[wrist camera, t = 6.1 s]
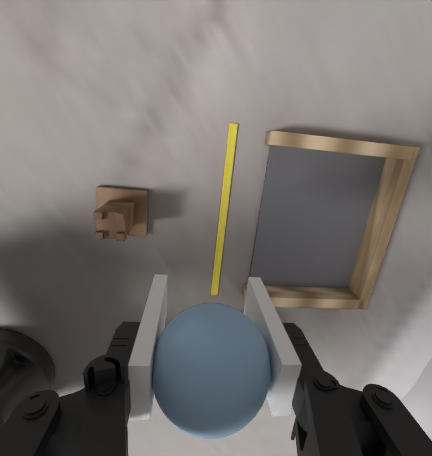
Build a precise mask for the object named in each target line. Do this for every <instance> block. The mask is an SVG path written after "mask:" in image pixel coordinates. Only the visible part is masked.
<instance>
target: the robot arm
mask: <svg viewBox="0 0 432 456" xmlns="http://www.w3.org/2000/svg"><path fill="white" fill-rule="evenodd" d="M244 314H245V315H246V316H247V317H248V318H249V319H250V320H251V321H252V322H253V323H254V324H255V325H256V326H257V328H258V329H259V331H260V333H261V334H262V336H263V338H264V340H265V343H266V345H267V349H268V352H269V357H270V366H271V375H270V384H269V388H268V392H267V395H266V396H267V400H268V404H269V407H270V411H271V414H272V416H290V413H291V408H292V407H293V409H294V412H295V415H296V418H295V422H294V427H293V431H292V436H291V440H294V438H295V436H296V445H297V454H298V456H432V441H431V440H430V438H429V437H428V436H427V434H426V433H425V432H424V431H423V429H422V428H421V427H420V425H419V424H418V423H417V422H416V420H415V419H414V418H413V416H412V415H411V414H410V412H409V411H408V410H407V409H406V407H405V406H404V405H403V403H402V402H401V401H400V400H399V399H398V398H397V396H396V395H395V394H394V393H392V392H391V391H389V390H388V389H387V388H385V387H382V386H380V385H376V384H368V385H366V386H365V387H364V388H363V391H358V390H354V389H351V388H347V387H344V386H342V385H340V384H339V382H338V381H337V380H336V379H335V378H334V377H333V376H332V375H331V374H329V373H327V372H325V371H324V370H323V368H322V367H321V365H320V363H319V361H318V359H317V358H316V356H315V354H314V352H313V350H312V349H311V347H310V346H309V343H308V341H307V340H306V338H305V336H304V334H303V332H302V331H301V329H300V328H298V327H297V326H296V325H295V324H294V323H282V322H281V320H280V318H279V316H278V314H277V311H276V309H275V307H274V305H273V303H272V301H271V299H270V297H269V295H268V292H267V290H266V288H265V286H264V284H263V282H262V280H261V278H260V277H248V283H247V291H246V298H245V306H244ZM166 315H167V275H157V274H155V275H154V278H153V282H152V285H151V289H150V292H149V295H148V299H147V302H146V306H145V309H144V313H143V316H142V319H141V322H123V323H122V324H121V325H120V326H119V327H118V328H117V329H116V331H115V334H114V336H113V339H112V341H111V343H110V347H109V348H108V351H107V353H106V355H104V356H100V357H98V358H96V359H94V360H93V361H91V362H90V363H89V364H88V365H87V366H86V368H85V370H84V373H83V376H84V385H85V388H84V389H82V390H80V391H77V392H75V393H71V394H68V395H65V396H61V397H59V396H58V394H57V393H56V392H55V391H52V390H49V389H50V387H51V385H52V383H53V381H54V376H55V370H54V365H53V362H52V360H51V358H50V356H49V355H48V353H47V352H46V351H45V350H44V349H43V348H42V347H41V346H40V345H39V344H38V343H36V342H35V341H33V340H32V339H30V338H28V337H26V336H24V335H22V334H19V333H16V332H13V331H8V330H3V329H0V456H128V431H127V423H128V419H129V415H130V420H150V417H151V411H152V404H153V398H154V390H153V386H152V370H153V359H154V352H155V347H156V343H157V341H158V339H159V337H160V335H161V333H162V332H163V330H164V328H165V321H166Z"/></svg>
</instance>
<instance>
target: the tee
mask: <svg viewBox="0 0 432 456" xmlns="http://www.w3.org/2000/svg"><path fill="white" fill-rule="evenodd" d="M96 194H97V210H96V211H95V212H94V220H96V232H95V239H97V240H103V239H104V238H110V239H117V241H125V239H126V237H127V236H128V235H130V236H146V235H147V207H148V190H140V189H128V188H116V187H103V186H98V187H96Z"/></svg>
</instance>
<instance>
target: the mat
mask: <svg viewBox="0 0 432 456" xmlns="http://www.w3.org/2000/svg"><path fill="white" fill-rule="evenodd" d="M385 160H386V158H384V157H375V156H366V155H356V154H347V153H338V152H329V151H320V150H311V149H302V148H293V147H284V146H275V145H270V150H269V156H268V162H267V169H266V175H265V181H264V187H263V194H262V200H261V206H260V213H259V219H258V225H257V231H256V238H255V244H254V250H253V257H252V263H251V269H250V276H249V277H260V278H261V280H262V282H263V284H264V286H284V287H314V288H343V289H348V286H349V282H350V279H351V275H352V272H353V269H354V265H355V262H356V259H357V255H358V252H359V248H360V245H361V242H362V238H363V235H364V231H365V228H366V225H367V221H368V218H369V215H370V211H371V208H372V204H373V201H374V198H375V194H376V191H377V188H378V184H379V181H380V177H381V174H382V171H383V167H384V164H385Z"/></svg>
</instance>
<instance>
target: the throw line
mask: <svg viewBox="0 0 432 456" xmlns="http://www.w3.org/2000/svg"><path fill="white" fill-rule="evenodd" d="M237 126H238V124H234V123H229V132H228V141H227V150H226V159H225V168H224V177H223V187H222V196H221V205H220V214H219V223H218V232H217V241H216V250H215V259H214V269H213V278H212V287H211V295H217V294H218V286H219V277H220V269H221V261H222V252H223V244H224V235H225V227H226V219H227V210H228V202H229V193H230V185H231V177H232V168H233V160H234V151H235V143H236V135H237Z"/></svg>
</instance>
